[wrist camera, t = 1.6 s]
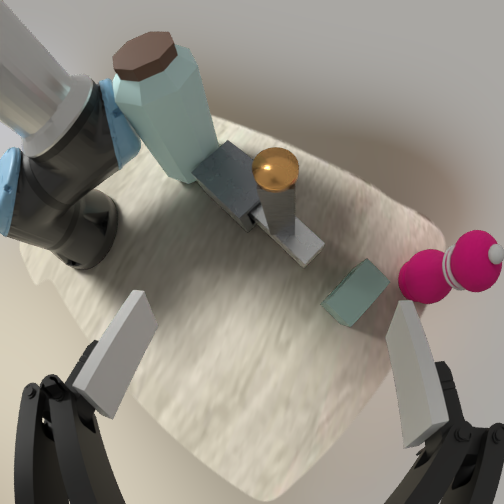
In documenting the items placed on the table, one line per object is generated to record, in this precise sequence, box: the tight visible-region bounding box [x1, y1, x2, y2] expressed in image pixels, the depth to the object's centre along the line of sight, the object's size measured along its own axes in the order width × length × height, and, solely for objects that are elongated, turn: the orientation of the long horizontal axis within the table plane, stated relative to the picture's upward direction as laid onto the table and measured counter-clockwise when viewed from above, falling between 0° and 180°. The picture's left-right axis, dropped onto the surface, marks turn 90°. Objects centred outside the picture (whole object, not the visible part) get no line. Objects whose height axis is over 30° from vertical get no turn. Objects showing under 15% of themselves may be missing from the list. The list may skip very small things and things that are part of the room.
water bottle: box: [113, 32, 219, 184], centre depth 31 cm, size 10×10×25 cm
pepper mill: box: [398, 230, 504, 304], centre depth 25 cm, size 7×7×20 cm
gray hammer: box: [248, 147, 325, 268], centre depth 30 cm, size 18×4×18 cm, turn 44°
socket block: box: [321, 259, 390, 327], centre depth 33 cm, size 4×7×7 cm, turn 134°
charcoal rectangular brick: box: [191, 140, 260, 233], centre depth 38 cm, size 10×7×6 cm
